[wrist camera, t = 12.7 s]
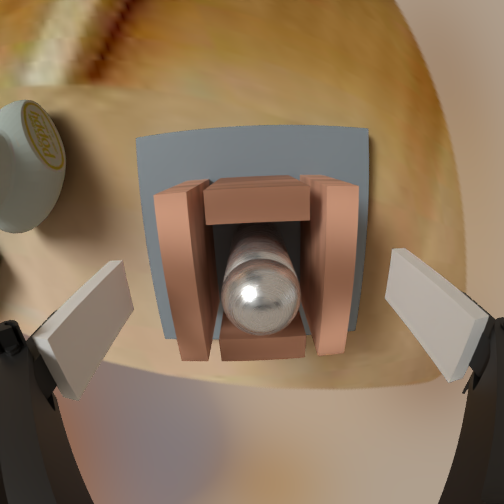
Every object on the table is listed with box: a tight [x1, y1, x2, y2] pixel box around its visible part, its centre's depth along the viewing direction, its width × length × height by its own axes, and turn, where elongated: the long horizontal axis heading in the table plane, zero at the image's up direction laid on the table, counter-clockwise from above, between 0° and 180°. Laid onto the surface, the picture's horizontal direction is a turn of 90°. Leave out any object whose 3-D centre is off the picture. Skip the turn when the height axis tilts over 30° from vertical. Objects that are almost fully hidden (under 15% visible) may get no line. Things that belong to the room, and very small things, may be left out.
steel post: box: [221, 222, 301, 336], centre depth 15 cm, size 4×4×10 cm
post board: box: [136, 125, 369, 339], centre depth 20 cm, size 16×16×1 cm
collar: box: [153, 175, 359, 361], centre depth 17 cm, size 9×9×7 cm
